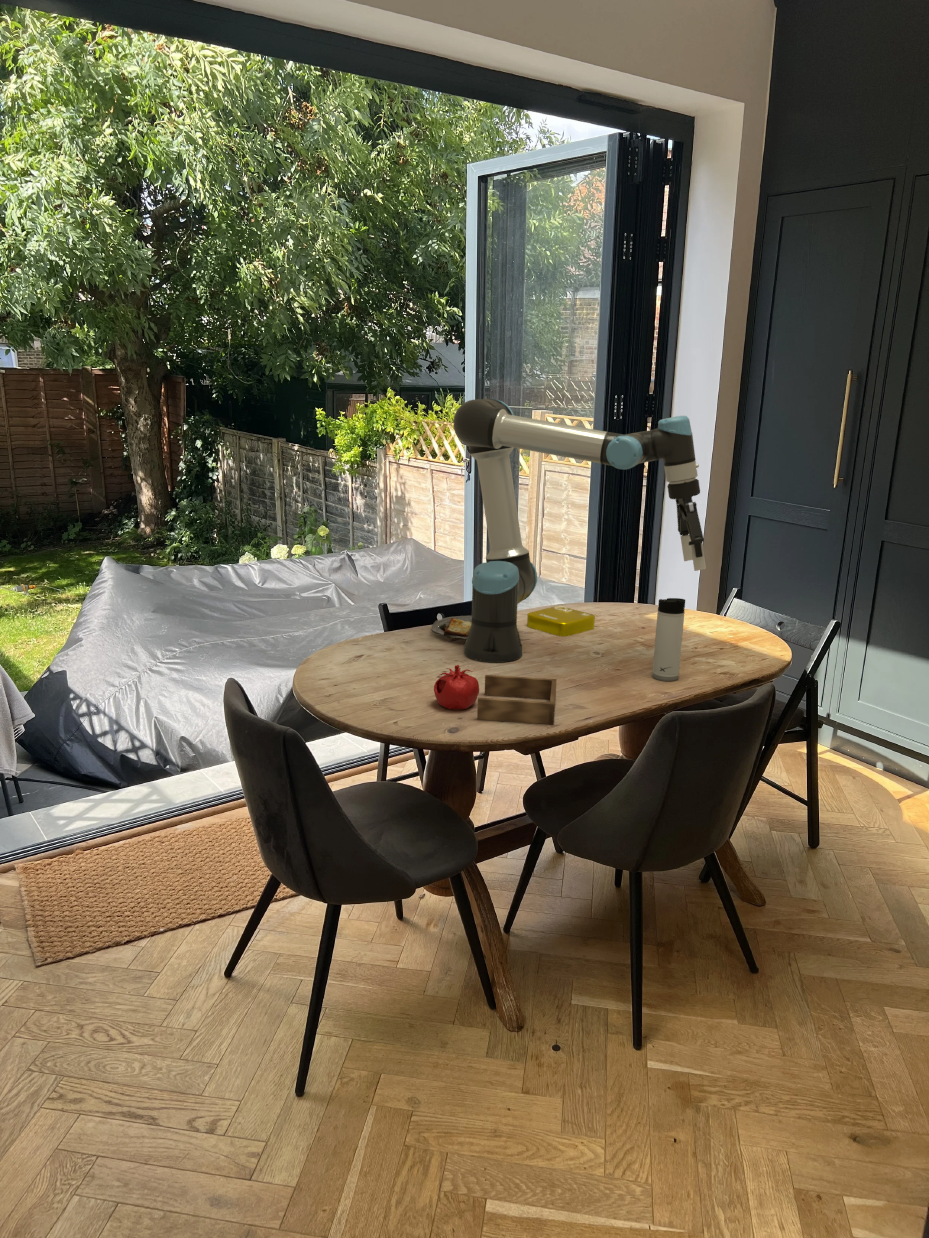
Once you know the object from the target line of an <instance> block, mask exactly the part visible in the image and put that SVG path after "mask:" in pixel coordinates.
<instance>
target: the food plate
mask: <svg viewBox="0 0 929 1238" xmlns="http://www.w3.org/2000/svg"><path fill="white" fill-rule="evenodd" d="M471 624H472V615H460V616H459V615H458V616H449V617H448V616H447V617H444V618H441V619H437V620H435V621H434V622H433V624H432V625H431V627H430V630H431V632H432V633H433V634H437V635H439V636H442V637H446V638H448V639H460V640H467V637H468V634H469V631H470V628H471ZM438 626H439V627H438Z"/></svg>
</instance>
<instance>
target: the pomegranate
mask: <svg viewBox="0 0 929 1238" xmlns="http://www.w3.org/2000/svg"><path fill="white" fill-rule="evenodd" d="M445 669H446V670H448V671H449V672H445V671H444V672H442V673H441V674H438V675H439V676H440V677H439V678H437V680H436V681H435V683H434V685H433V692H434V693H433V694H434V696H435V699H436V701H437V704H439V705H440V706H441V707H443V708H445V709H448V710H453V711H455V710H460V711H461V710H466V709H469V708H470V707H471V706H473V705H474V704H475V703H476V702H477V700H478V697H479V693H480V684H479V681H478V679H477V678H476V677H474V676H472V675H470V674H468V673H466V672H472V673H473V672H474V671H471V670H470V669H467V668H466V669H463V670H462V671H461V667H460V665H459V664H456V665H455V664H454V671H453V669H452V668H450V667H449V668H447V667H446V668H445Z"/></svg>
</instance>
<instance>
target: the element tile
mask: <svg viewBox="0 0 929 1238" xmlns="http://www.w3.org/2000/svg"><path fill="white" fill-rule="evenodd" d="M526 615H527V617H526V618H527V619H526V627H527V628H529V629H533V630H535V631H536V630H537V631H539V632H542V633H543V632H544V633H546V634H549V635H553V636H557V637H562V638H564V637H570V636H574V635H577V634H582V633H584V632H588V631H593V630H594V629H595V621H596V620H595V619H596V616H595V614H592V613H588V612H586V611H585V612H584V611H581V610H578V609H573V608H569V607H567V606H563V605H556V606H551V607H546V608H543V609H538V610H534V611H529V612H527V614H526Z"/></svg>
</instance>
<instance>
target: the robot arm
mask: <svg viewBox="0 0 929 1238" xmlns="http://www.w3.org/2000/svg"><path fill="white" fill-rule="evenodd" d="M657 424H658V425H657V427H656V428H654V429H650V430H645V431H639V432H632V433H625V434H622V433H616V432H609V431H605V430H599V429H593V428H588V427H582V426H575V425H569V424H563V423H559V422H553V421H548V420H542V419H537V418H536V419H535V418H531V417H524V416H519V415H515V413H514V412H513V410H512V409H511V407H510V406H509V405H508V404H507V403H505V402H504V401H502V400H499V399H496V398H492V397H490V398H481V399H480V398H479V399H477V398H476V399H470V400H467V401H465V402H463V403H462V404H461V405H460V406H459V407H458V409H457V410H456V411H455V414H454V416H453V430H454V433H455V434H456V437H457V438H458V440H459V441H461V442H462V443H463V444H465V445H467V446H468V450H469V451H468V452H469V455H470V456H471V457H472V458H473V459H475V461H476V464H477V470H478V477H479V483H480V490H481V497H482V502H483V509H484V516H485V522H486V528H487V536H488V541H489V552H488V553H487V555H486V556H485V559H486V560H485V561H486V562H482V563H480V564H478V565H476V566H475V568H474V569H473V572H472V579H471V585H472V587H471V588H472V589H471V593H472V594H471V595H472V596H471V616H472V624H471V628H470V631H469V634H468V637H467V639H466V641H465V642H464V646H463V654H464V655H465V657H467V658H469V659H472V660H474V661H479V662H483V663H484V662H486V663H507V662H512V661H517V660H519V659H520V658H521V657H522V656H523V644H522V642H521V641H522V640H521V638H520V633H519V629H518V625H517V624H518V623H517V622H518V621H517V619H518V604H520V603H521V602H523V601H524V600H527V599H528V598H529V597H530V596H531V594H532V593H533V592H534V590H535V589H536V586H537V583H538V572H537V569H536V567H535V565H534V563H532V562H531V558H530V551H529V550H528V549H527V548H526V547H525V546H523V542H522V541H523V540H522V535H521V527H520V522H519V521H520V519H519V514H518V507H517V500H516V493H515V486H514V485H515V484H514V481H513V473H512V464H511V460H510V459H511V457H510V455H511V453H512V452H513V450H514V449H519V450H524V451H531V452H536V453H541V454H547V455H552V456H557V457H558V456H559V457H562V458H569V459H574V460H579V461H580V460H581V461H585V462H591V463H596V464H602V465H607V466H612V467H613V468H616V469H618V470H625V471H626V470H630V469H632V468H635V467H636V466H638V465H639V464H643V463H648V462H654V461H661V460H663V467H664V475H665V481H666V482H667V483H668V484H667V486H666V487H667V493H668V498H669V499H670V500H675V506H676V514H677V515H676V517H677V531H678V532H679V535H680V542H681V550H682V556H683V561H684V562H688V561H692V562H693V570H694V571H695V572H698V571H702V570H706V569H707V567H706V566H707V565H706V559H705V552H704V545H703V544H704V543H703V542H704V541H705V538H704V535H703V534H704V533H703V531H702V527H701V521H700V518H699V512H698V508H697V506H698V505H697V503H696V501H693V497H696V496H698V495H700V493H701V488H700V481H699V479H698V478H697V477H698V468H699V466H700V465H699V464H698V463H697V461H696V452H695V445H694V438H693V431H692V427H691V422H690V418H689V417H688V416H687V415H677V416H672V417H667V418H662V419H659V421H658V422H657Z"/></svg>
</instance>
